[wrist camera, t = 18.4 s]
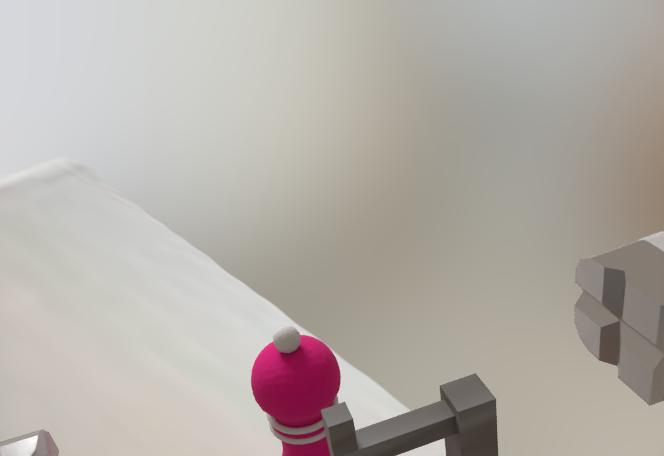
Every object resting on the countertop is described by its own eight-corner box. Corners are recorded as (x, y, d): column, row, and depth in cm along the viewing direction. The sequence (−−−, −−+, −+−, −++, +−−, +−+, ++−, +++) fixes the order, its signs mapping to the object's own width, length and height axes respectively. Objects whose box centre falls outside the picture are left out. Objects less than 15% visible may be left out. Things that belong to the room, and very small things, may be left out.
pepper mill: (391, 549, 48) (357, 340, 39) (302, 590, 46) (243, 381, 37) (355, 479, 54) (318, 284, 45) (275, 513, 52) (219, 317, 43)
